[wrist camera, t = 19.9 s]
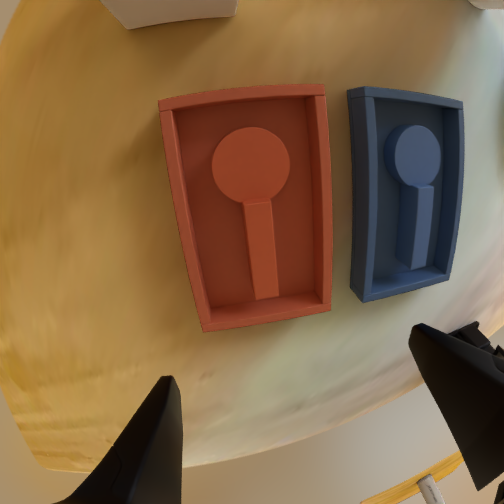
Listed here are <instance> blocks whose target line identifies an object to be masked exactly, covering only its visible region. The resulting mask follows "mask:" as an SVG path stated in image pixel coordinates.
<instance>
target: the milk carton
mask: <svg viewBox="0 0 504 504" xmlns="http://www.w3.org/2000/svg"><path fill="white" fill-rule="evenodd" d="M99 1H100V2H101V3H102V4H103V5H104V6H105V7H106V8H107V9H108V10H109V11H110V12H111V13H112V14H113V15H114V16H115V17H116V19H117V20H118V21H119V22H120V23H121V24H122V25H123V26H124V27H125V28H126V29H135V28H140V27H145V26H150V25H156V24H162V23H168V22H175V21H183V20H192V19H203V18H218V17H233V16H235V14H236V10H237V6H238V2H239V0H99Z"/></svg>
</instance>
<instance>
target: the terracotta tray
mask: <svg viewBox="0 0 504 504" xmlns="http://www.w3.org/2000/svg"><path fill="white" fill-rule="evenodd" d="M324 95H325V88H324V85H323V84H288V85H267V86H252V87H241V88H231V89H223V90H215V91H208V92H201V93H194V94H188V95H183V96H177V97H172V98H167V99H162V100H158V106H159V112H160V113H159V114H160V122H161V129H162V136H163V143H164V150H165V156H166V163H167V169H168V175H169V181H170V186H171V192H172V197H173V203H174V208H175V213H176V218H177V223H178V228H179V233H180V238H181V243H182V248H183V252H184V257H185V261H186V266H187V270H188V274H189V279H190V283H191V287H192V291H193V295H194V300H195V304H196V308H197V311H198V315H199V319H200V323H201V327H202V331H203V332H210V331H217V330H225V329H231V328H238V327H244V326H251V325H257V324H263V323H269V322H274V321H280V320H286V319H291V318H296V317H301V316H307V315H312V314H317V313H321V312H326V311H330V310H331V290H332V185H331V163H330V146H329V132H328V119H327V108H326V98H325V96H324ZM245 127H257V128H262V129H265V130H268V131H269V132H271V133H273V134H274V135H276V136H277V137H278V138H279V139H280V140H281V141H282V142H283V144H284V145H285V147H286V149H287V151H288V155H289V159H290V172H289V176H288V179H287V181H286V183H285V185H284V186H283V188H282V189H281V190H280V191H279V192H278V193H277V194H276V195H275V196H274V197H272V198H271V199H269V200H270V201H271V206H272V217H273V228H274V240H275V251H276V264H277V276H278V289H279V296H276V297H270V298H264V299H258V300H255V297H254V293H253V289H252V285H251V280H250V273H249V265H248V257H247V249H246V242H245V234H244V226H243V218H242V210H241V203H239V202H236V201H234V200H231V199H230V198H228V197H227V196H225V195H224V194H223V193H222V192H221V191H220V190H219V188H218V187H217V185H216V183H215V181H214V179H213V175H212V169H211V163H212V155H213V152H214V149H215V147H216V145H217V144H218V143H219V141H220V140H221V139H222V138H223V137H224V136H225V135H227V134H228V133H230V132H232V131H234V130H236V129H239V128H245Z"/></svg>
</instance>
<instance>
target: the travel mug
mask: <svg viewBox="0 0 504 504" xmlns="http://www.w3.org/2000/svg"><path fill="white" fill-rule="evenodd" d="M417 484H418V486H419V488H420V490H421V493H422V494H423V497H424V499H425V501H426V503H427V504H446V503H445V501H444V499H443V497H442V495H441V493H440V491H439V489H438V487H437V485H436V483H435V481H434V479H433V477H432V475H431V474H429V475H427V476H425V477H424V478H422V479H420V480H419V481H418V482H417Z"/></svg>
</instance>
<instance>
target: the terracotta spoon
mask: <svg viewBox="0 0 504 504" xmlns="http://www.w3.org/2000/svg"><path fill="white" fill-rule="evenodd" d="M211 169H212V175H213V179H214V181H215V183H216V185H217V187H218V188H219V190H220V191H221V192H222V193H223V194H224V195H225V196H227V197H228V198H230V199H231V200H234V201H236V202H239V203H241V210H242V218H243V226H244V234H245V242H246V249H247V257H248V265H249V273H250V280H251V285H252V289H253V293H254V297H255V300H258V299H264V298H270V297H276V296H279V289H278V276H277V264H276V251H275V240H274V228H273V217H272V206H271V201H270V200H269V199H271V198H272V197H274V196H275V195H276V194H277V193H278V192H279V191H280V190H281V189H282V188H283V186H284V185H285V183H286V181H287V179H288V176H289V172H290V159H289V155H288V151H287V149H286V147H285V145H284V144H283V142H282V141H281V140H280V139H279V138H278V137H277V136H276V135H274V134H273V133H271V132H269V131H268V130H265V129H262V128H257V127H245V128H239V129H236V130H234V131H232V132H230V133H228V134H227V135H225V136H224V137H223V138H222V139H221V140H220V141H219V143H218V144H217V145H216V147H215V149H214V152H213V155H212V163H211Z"/></svg>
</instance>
